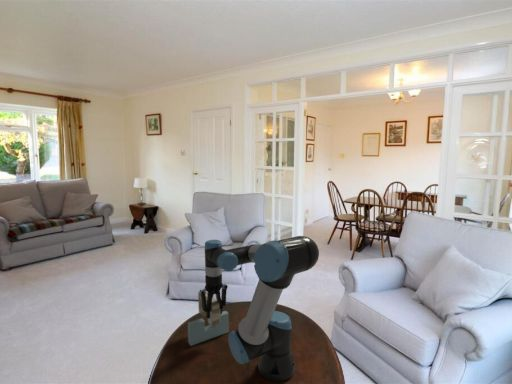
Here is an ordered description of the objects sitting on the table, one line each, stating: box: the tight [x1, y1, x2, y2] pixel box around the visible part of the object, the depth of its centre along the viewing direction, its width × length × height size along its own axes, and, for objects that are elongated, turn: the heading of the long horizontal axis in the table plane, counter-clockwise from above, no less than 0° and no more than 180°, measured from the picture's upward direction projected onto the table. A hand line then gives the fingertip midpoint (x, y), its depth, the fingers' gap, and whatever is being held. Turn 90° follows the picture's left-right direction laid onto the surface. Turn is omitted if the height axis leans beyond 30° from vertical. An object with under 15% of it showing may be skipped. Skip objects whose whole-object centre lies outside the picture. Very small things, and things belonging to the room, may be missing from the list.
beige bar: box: [197, 291, 220, 326], centre depth 144 cm, size 16×4×10 cm, turn 34°
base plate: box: [187, 310, 230, 347], centre depth 145 cm, size 20×3×10 cm, turn 124°
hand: (214, 322), depth 139 cm, fingers closed on beige bar, 3 cm apart
